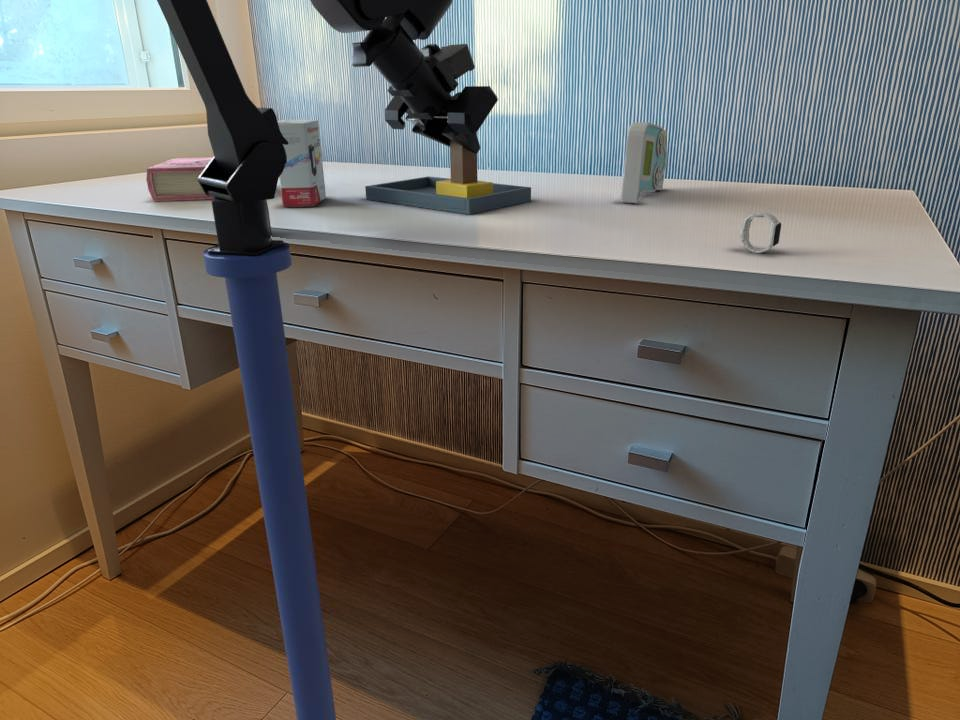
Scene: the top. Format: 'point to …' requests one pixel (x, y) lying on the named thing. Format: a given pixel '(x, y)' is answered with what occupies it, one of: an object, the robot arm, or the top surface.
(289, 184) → the ink box
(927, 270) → the top surface
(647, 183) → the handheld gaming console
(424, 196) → the tray
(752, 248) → the smartwatch
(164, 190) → the book
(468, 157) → the sponge brush
